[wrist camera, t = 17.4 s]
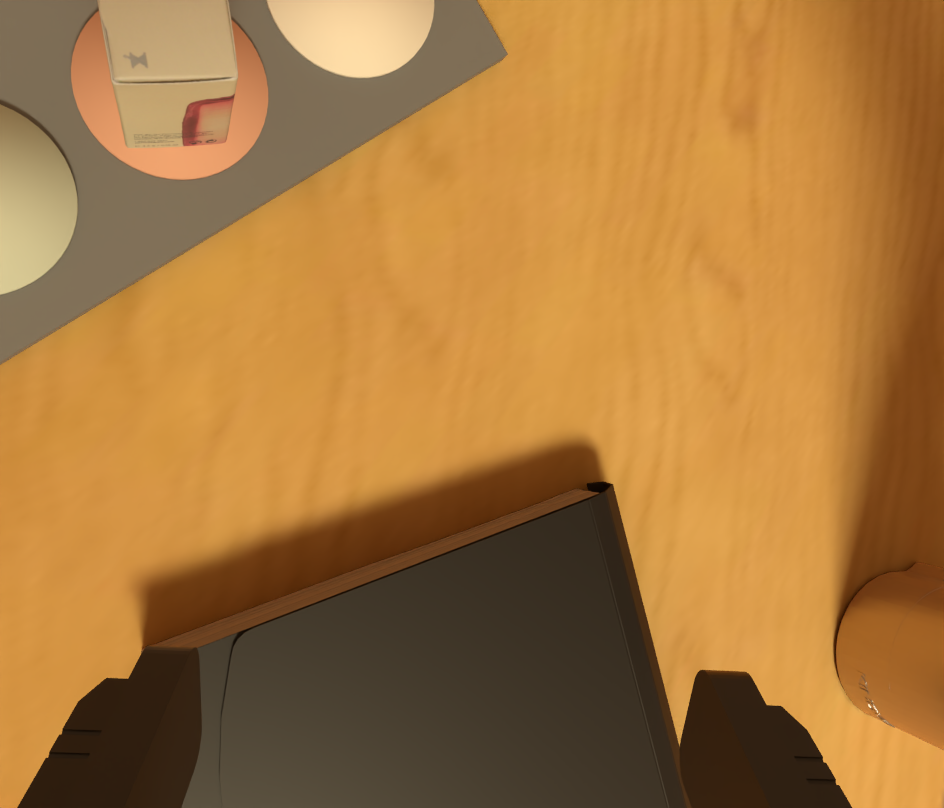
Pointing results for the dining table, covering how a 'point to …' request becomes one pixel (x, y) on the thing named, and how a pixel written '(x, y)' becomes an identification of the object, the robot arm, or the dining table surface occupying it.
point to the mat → (193, 167)
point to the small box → (171, 70)
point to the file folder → (447, 678)
